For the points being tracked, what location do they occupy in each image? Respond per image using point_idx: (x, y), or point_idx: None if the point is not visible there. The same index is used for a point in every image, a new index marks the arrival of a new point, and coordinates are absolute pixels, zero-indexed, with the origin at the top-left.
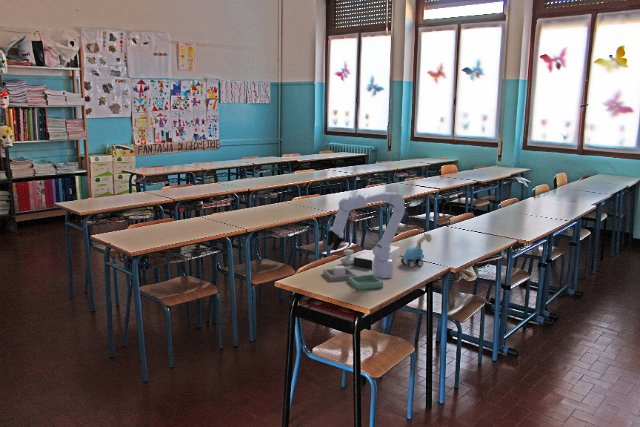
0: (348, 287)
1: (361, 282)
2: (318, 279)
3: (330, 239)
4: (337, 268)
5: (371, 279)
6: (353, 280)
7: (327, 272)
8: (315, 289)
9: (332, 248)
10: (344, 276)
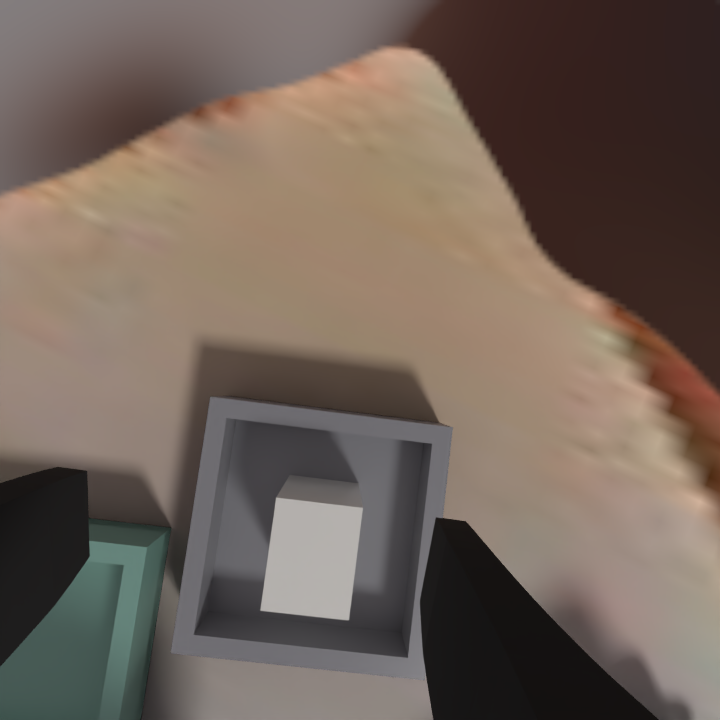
0: None
1: (76, 626)
2: (359, 341)
3: (479, 711)
4: (274, 513)
5: None
6: None
7: (360, 427)
8: (140, 212)
9: (50, 474)
10: (191, 526)
